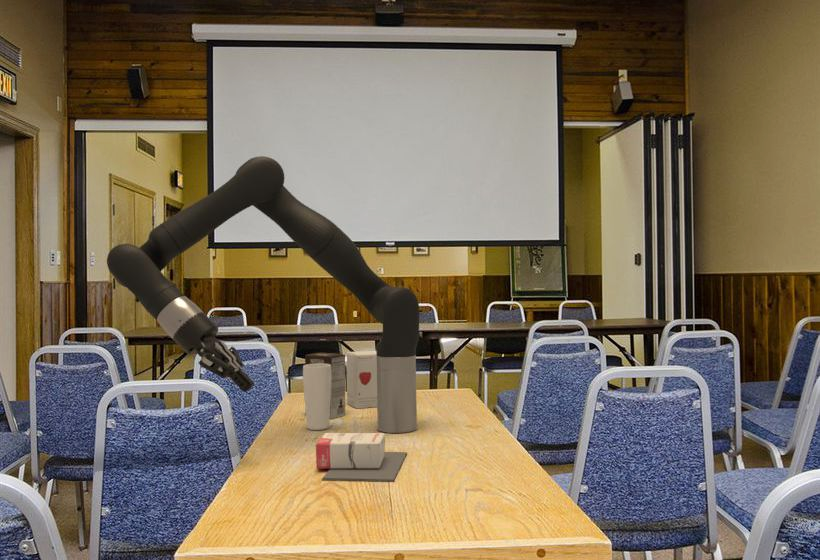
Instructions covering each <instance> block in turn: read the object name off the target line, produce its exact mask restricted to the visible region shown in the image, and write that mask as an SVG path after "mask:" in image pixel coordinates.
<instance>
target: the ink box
mask: <svg viewBox="0 0 820 560" xmlns="http://www.w3.org/2000/svg"><path fill="white" fill-rule="evenodd" d="M385 433H386V432H374V433H373V432H325V433H323V435H322V436H321V437H320V438H319V440H318V441H317V442H316V443H315V463H316V464H315V465H316V466H315V467H316V469H317V470H319V469H320V470H322V469H325V470H326V469H328V470H330V469H336V468H380V465H381V463H382V461H383V458H384V452H386V451H385V449H386V448H385V445H386V434H385Z"/></svg>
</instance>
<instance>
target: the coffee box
mask: <svg viewBox="0 0 820 560" xmlns="http://www.w3.org/2000/svg"><path fill="white" fill-rule="evenodd" d="M307 364H330V365H331V371H332V385H331V399H330V414H329V420H333V419H334V420H335V419H337V418H340V417H343V416H346V354H343V353H342V354H341V353H330V352H316V353H315V352H314V353H310V354H309V353H308V354H305V355H304V365H307ZM304 409H305V416H306V408H305V407H304Z"/></svg>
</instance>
